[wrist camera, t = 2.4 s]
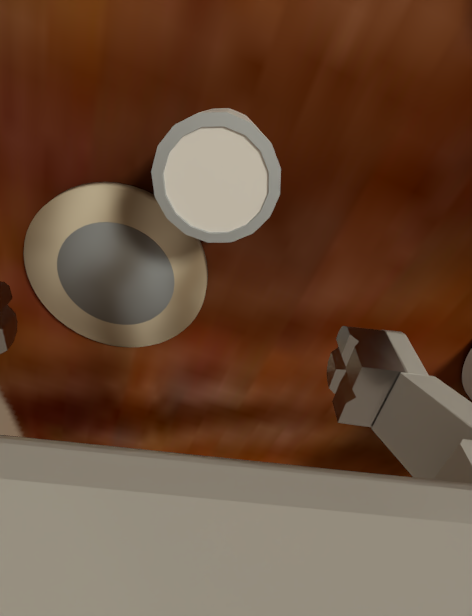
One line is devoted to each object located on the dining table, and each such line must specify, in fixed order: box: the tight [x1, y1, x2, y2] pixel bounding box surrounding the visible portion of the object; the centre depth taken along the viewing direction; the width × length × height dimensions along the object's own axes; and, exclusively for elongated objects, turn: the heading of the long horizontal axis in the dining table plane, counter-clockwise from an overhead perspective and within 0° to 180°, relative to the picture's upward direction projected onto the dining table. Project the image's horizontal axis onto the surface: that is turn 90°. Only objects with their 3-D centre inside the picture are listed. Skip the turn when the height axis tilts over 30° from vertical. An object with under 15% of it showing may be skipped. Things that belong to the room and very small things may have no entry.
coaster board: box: [24, 182, 208, 347], centre depth 31 cm, size 14×14×1 cm
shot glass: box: [151, 108, 281, 243], centre depth 23 cm, size 7×7×7 cm
